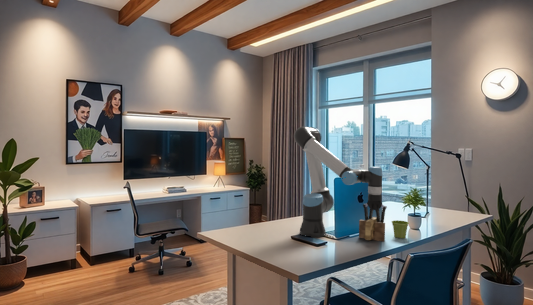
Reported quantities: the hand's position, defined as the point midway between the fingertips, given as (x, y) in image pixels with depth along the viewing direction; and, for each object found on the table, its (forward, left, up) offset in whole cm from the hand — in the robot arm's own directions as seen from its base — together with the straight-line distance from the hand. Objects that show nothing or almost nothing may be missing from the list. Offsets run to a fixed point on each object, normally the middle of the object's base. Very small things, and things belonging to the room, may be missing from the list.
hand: (374, 234), depth 204 cm
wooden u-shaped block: (0, -5, -2) cm, 5 cm away
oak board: (0, -5, -1) cm, 5 cm away
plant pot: (+12, +9, -2) cm, 15 cm away
